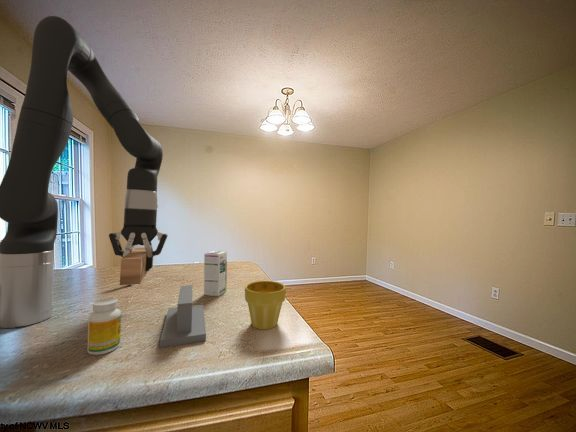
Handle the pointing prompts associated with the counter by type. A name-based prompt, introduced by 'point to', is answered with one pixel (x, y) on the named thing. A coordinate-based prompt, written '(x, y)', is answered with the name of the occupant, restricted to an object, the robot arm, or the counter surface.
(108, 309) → the supplement bottle
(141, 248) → the wooden beam
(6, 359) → the counter surface
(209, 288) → the syrup box
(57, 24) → the robot arm
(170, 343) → the ridge stand
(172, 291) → the counter surface
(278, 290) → the plant pot
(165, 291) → the counter surface
